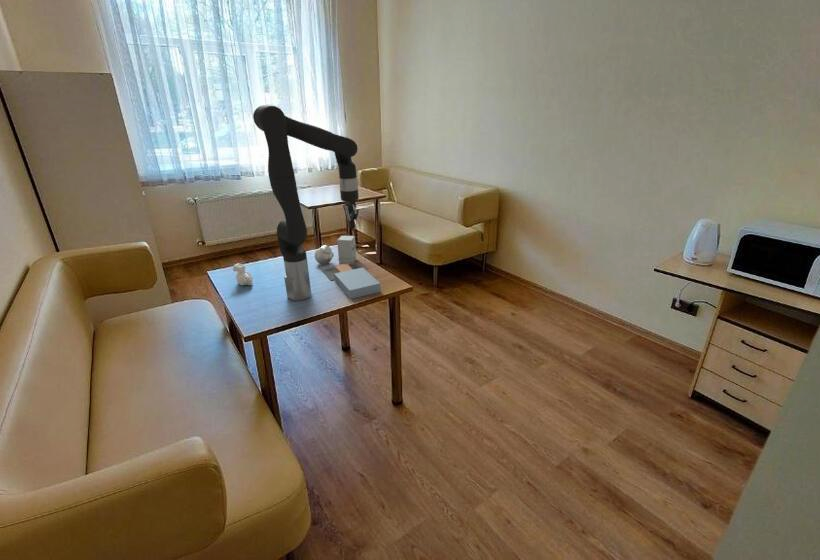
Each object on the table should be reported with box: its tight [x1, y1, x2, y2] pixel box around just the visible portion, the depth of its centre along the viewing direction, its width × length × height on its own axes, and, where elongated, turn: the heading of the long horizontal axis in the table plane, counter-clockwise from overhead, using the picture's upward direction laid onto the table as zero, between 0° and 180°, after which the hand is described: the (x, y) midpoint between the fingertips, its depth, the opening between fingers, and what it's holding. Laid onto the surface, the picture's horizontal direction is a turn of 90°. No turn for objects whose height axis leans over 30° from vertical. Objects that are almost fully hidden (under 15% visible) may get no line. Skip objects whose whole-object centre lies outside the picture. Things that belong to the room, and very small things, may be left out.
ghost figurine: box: [314, 244, 335, 266], centre depth 206 cm, size 9×9×10 cm
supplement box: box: [336, 235, 357, 265], centre depth 209 cm, size 7×7×13 cm
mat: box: [321, 262, 360, 282], centre depth 198 cm, size 14×17×1 cm
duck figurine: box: [232, 262, 253, 286], centre depth 186 cm, size 12×8×11 cm
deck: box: [334, 267, 381, 300], centre depth 183 cm, size 20×14×4 cm
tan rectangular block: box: [334, 263, 353, 273], centre depth 196 cm, size 9×6×3 cm, turn 27°
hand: (352, 228), depth 179 cm, fingers closed
